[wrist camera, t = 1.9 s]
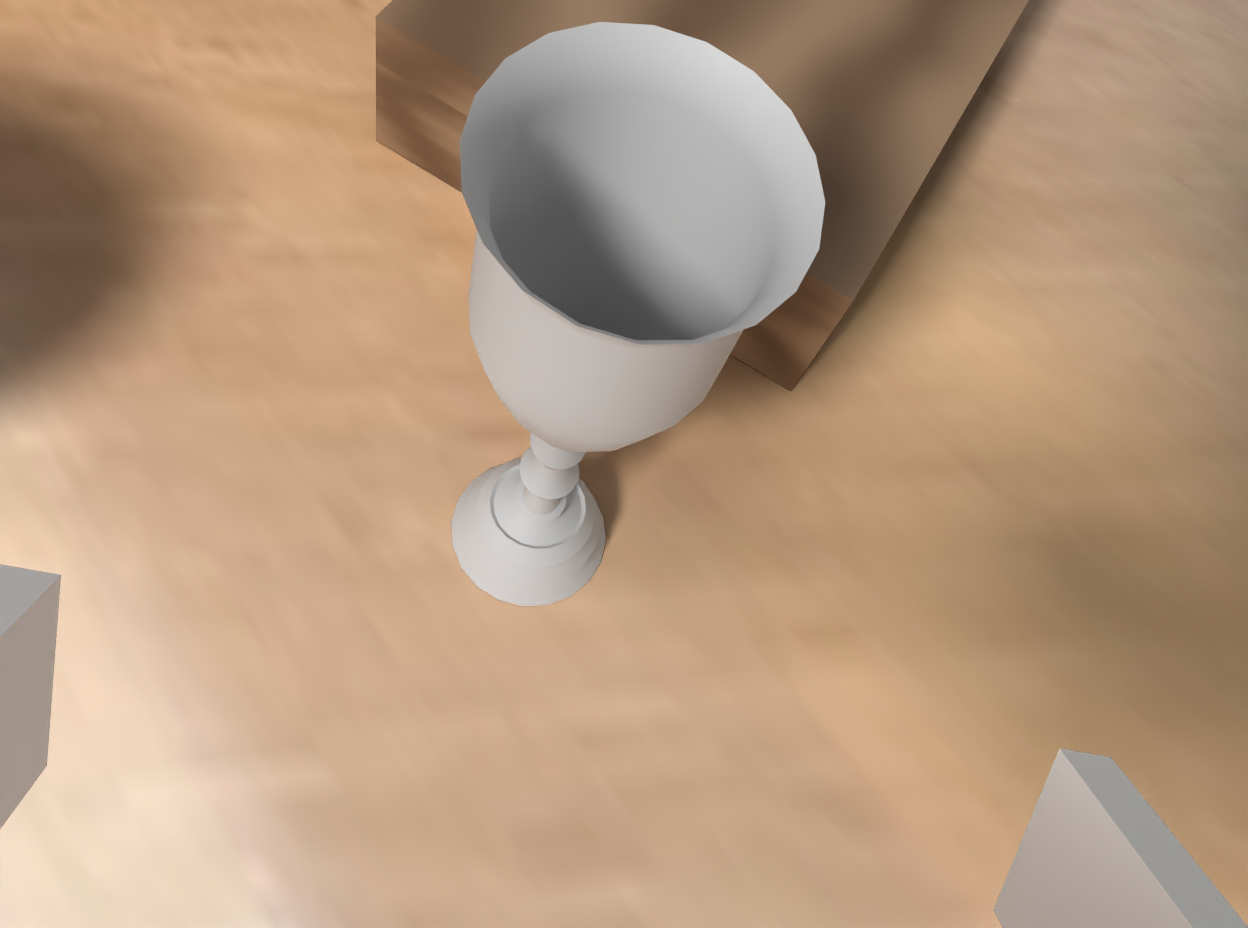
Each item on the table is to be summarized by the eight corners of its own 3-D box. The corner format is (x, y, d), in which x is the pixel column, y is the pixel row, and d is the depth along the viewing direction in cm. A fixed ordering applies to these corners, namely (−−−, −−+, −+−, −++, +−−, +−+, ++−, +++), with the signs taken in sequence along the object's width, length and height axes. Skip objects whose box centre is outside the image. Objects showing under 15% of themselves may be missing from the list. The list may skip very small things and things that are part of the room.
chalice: (437, 418, 37) (480, -9, 21) (636, 443, 38) (818, 56, 22) (409, 629, 34) (435, 315, 18) (627, 651, 35) (832, 371, 19)
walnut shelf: (995, 44, 50) (1067, -67, 45) (790, 391, 40) (853, 301, 35) (657, -150, 52) (688, -281, 46) (376, 140, 42) (375, 16, 36)
